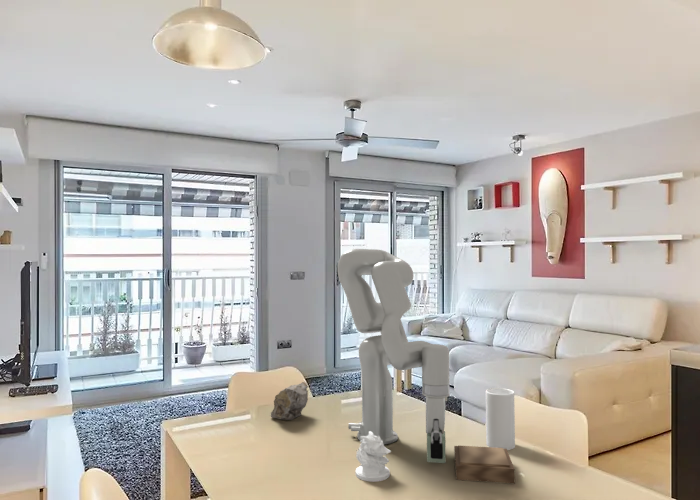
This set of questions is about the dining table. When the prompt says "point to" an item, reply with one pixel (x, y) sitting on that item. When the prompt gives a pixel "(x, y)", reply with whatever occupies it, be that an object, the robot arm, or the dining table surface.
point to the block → (430, 449)
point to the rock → (290, 402)
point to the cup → (500, 418)
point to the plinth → (483, 464)
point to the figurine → (372, 459)
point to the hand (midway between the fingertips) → (436, 451)
